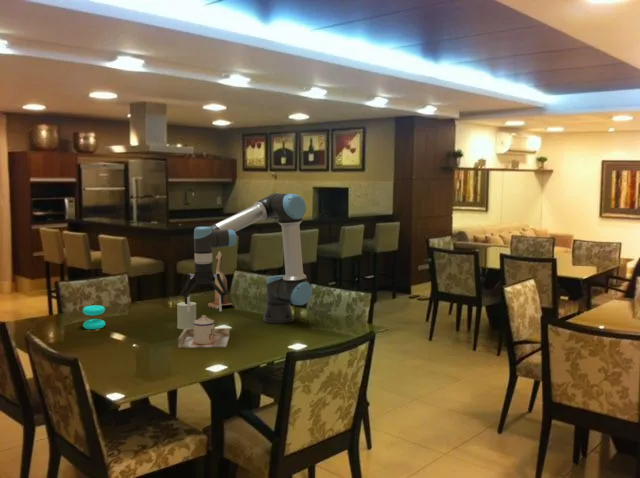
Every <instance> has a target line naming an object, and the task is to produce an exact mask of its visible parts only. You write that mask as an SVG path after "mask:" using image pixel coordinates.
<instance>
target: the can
mask: <svg viewBox="0 0 640 478" xmlns="http://www.w3.org/2000/svg"><path fill="white" fill-rule="evenodd" d="M176 306H177V307H176V310H177V312H176V315H177V318H176V319H177V323H176V328H177V329H178V330H184V329H194V324H193V323H194V321H195V320H197V303H196V302H193V301H190V312H188V310H187V304H185V301H182V302H178V303H176Z"/></svg>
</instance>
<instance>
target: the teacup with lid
mask: <svg viewBox="0 0 640 478" xmlns="http://www.w3.org/2000/svg"><path fill="white" fill-rule="evenodd" d="M193 324H194V343H196V344H210V343H213V342H214V328H215V320H214V319H212V318H209V317H207V315H205V314H202V315H201V317H199V318H197V319H196V320H195V321H194V323H193Z"/></svg>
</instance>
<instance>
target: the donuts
mask: <svg viewBox="0 0 640 478" xmlns="http://www.w3.org/2000/svg"><path fill="white" fill-rule="evenodd" d="M105 311H106V307H104V306H103V305H100V304H99V305H98V304H96V305H87V306H85V307H83V308H82V313H83V315H85V316H99V315H102V314H103V313H105ZM82 326H83V328H84V329H86V330H99V329H103V328H104V327H105V326H106V322H105V320H103V319H100V318H90V319H87V320H85V321H84V322H83V324H82Z"/></svg>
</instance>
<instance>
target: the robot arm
mask: <svg viewBox="0 0 640 478" xmlns="http://www.w3.org/2000/svg"><path fill="white" fill-rule="evenodd" d="M306 212H307V204H306V202H305V200H304V199H303V197H302V196H301V195H299V194H294V193H279V192H278V193H273V194H270V195H267V196H266V197H264V198H261V199H259V200H257V201H255V202H254V203H253V205H252V206H250V207H247V208H246V209H244V210H241V211H239V212H237V213H236V214H233V215H231V216H229V217H227V218H225V219H223V220H221V221H219V222H216V223H214V224H212V225H209V226H196V227H195V228H194V230H193V244H194V247H193V248H194V274H192V273H188V274H187V277H186V278H187V279H186V281H185V282H184V285H183V287H182V290H181V292H180V293H179V294H180V296H182V297H184V302H185V304H187V310H188V312H190V302H191V295H190V294H191V293H192V291H193V290H194V289H195V288H196V286H197V285H198V284H199V285H208V284H209V285H211V286H212V288H213V289H214V291H215V290H216V291H217V292H218V293H219V294H220V296H219V308H218V311H219V312H222V311H223V309H222V308H223V307H222V303H224V295H227V296H228V294H229V290H228V288H227V289H226V287H225V285H224V283H223V282H222V280H221V277H220V273H218V274H216V273H214V272H213V268H214V267H213V249H216V248H230V247H234V246H236V243H237V240H238V237H237V233H236V232H238V231H240V230H242V229H245V228H247V227H248V226H251V225H253V224H255V223H256V222H258V221H265V220H267V219H270V218H277V223H278V224H279V225H280V226H281V234H282V246H283V247H282V248H283V257H284V259H283V260H284V269H285V270H284V271H285V272H284V273H285V274H280V275H279V274H278V275H270V276H268V277H267V280H266V307H265V311H264V314H263V322H265V323H268V324H288V323H292V322H294V314H293V310H292V308H291V305H294V306H304V305H306V304H307V303H308V302H309V301H310V299H311V298H312V295H313V287H312V285H311V284H310V283H309V281H308V277H307V275H306V274H305V273H304V267H303V257H302V256H303V254H302V241H301V229H300V225H301V223H302V222H303V218H304V216H305V214H306ZM193 278H194V279H195V282H194V283H193V284H192V285H191V287H189V289H188V290H187V288H188V286H189V283H190V282H191V280H193ZM213 278H214V279H215V278H216V279H217V280H218V282H219V284H220V286H221V288H222V289H223V291H224V292H222V291H221V290H220V288H219V287H218V286H217V285H216V284H215V280H213Z"/></svg>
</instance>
